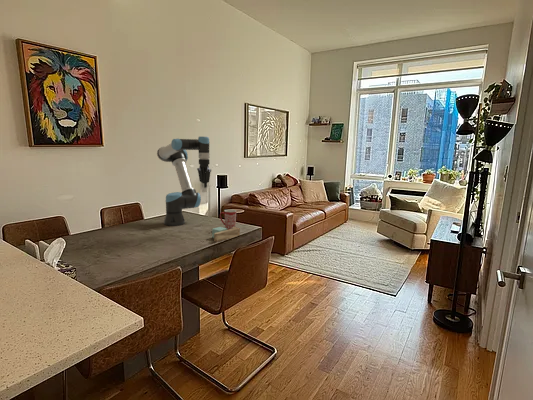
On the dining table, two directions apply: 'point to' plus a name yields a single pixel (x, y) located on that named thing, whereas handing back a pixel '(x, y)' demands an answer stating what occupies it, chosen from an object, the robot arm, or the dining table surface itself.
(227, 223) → the mug
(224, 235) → the stop board
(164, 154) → the robot arm
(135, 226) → the dining table surface
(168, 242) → the dining table surface
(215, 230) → the block
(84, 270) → the dining table surface
